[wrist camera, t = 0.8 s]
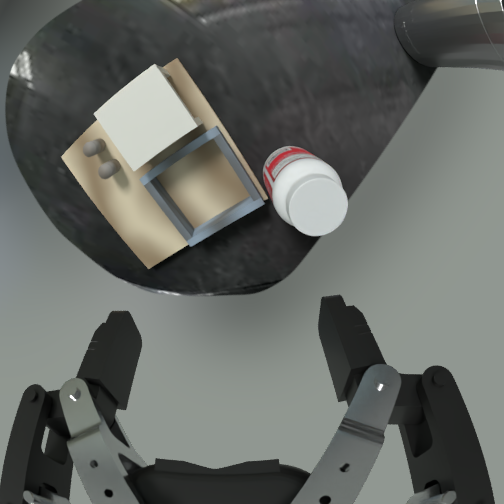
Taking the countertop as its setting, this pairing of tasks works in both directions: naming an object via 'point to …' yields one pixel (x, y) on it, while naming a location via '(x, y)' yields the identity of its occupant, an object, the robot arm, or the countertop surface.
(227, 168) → the base board
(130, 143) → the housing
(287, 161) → the pill bottle
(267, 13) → the countertop surface
